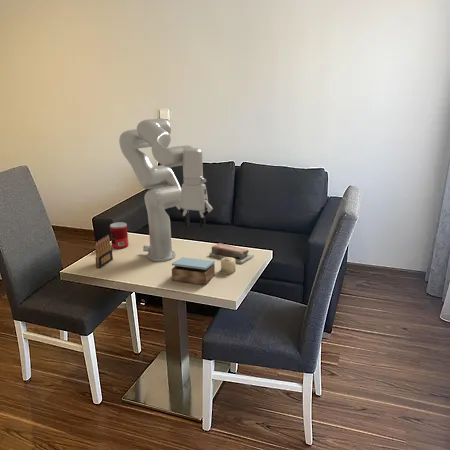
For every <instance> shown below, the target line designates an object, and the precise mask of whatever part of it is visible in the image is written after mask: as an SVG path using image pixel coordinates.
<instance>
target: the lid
mask: <svg viewBox="0 0 450 450" xmlns="http://www.w3.org/2000/svg"><path fill="white" fill-rule="evenodd" d="M215 263H216V262H215V260H208V259H201V258H200V259H199V258H192V257H185V256H182V257H180V258H179V259H177V260H176V261H173V262H172V263H171V266H173V267H175V266H181V267H189V268H196V269H204V270H206V269H207V268H209V267H210V266H211V265H213V264H215Z"/></svg>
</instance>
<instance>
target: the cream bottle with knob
mask: <svg viewBox="0 0 450 450" xmlns="http://www.w3.org/2000/svg"><path fill="white" fill-rule="evenodd" d="M220 272H221V274H227V275H229V274H235V272H236V263H235V258H232V257H224V258H222V259H220Z"/></svg>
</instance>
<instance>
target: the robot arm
mask: <svg viewBox="0 0 450 450" xmlns="http://www.w3.org/2000/svg"><path fill="white" fill-rule="evenodd" d="M171 133H172V127H171V124H170V122H169V121H168V120H167V119H165V118H150V119H144V120H141V121H139V122H138V123H137V126H136V128H135V129H129V130H125V131H123V132H122V133H121V134H120V135H119V147H120V150H121V153H122V154H123V156H124V158H125V159H126V160H127V162H128V163H129V165H130V167H131V169H132V170H133V172H134V174H135V176H136V177H135V178H137V181H138V183H139V184H140V186H141V187H142V188H143V189H144V190H147V192H146V193H145V194H144V203H145V207H146V211H147V220H148V222H147V223H148V234H149V245H146V244H145V245H142V246H143V247H142V250H143V252H147V259H148V260H150V261H152V262H167V261H170V260H172V259H174V258H176V252H175V251H174V250H173V249H172V247H173V246H172V231H171V230H172V229H171V219H170V215H169V213H167V211H166V210H167V209H170V208H174V207H176V209H178V210H179V213H181V214H182V217H183V223H184V225H185V226H186V227H187V226H189V225H190V224H191V219H190V214H189V212H190V211H197V212H199V216H200V217H199V227H200V228H203V227H204V226H205V225H206V216H207V215H209V213H210V212H212V210H213V209H214V208H213V206H212V205H211V204H210V203H209V198H208V197H209V196H208V190H207V187H206V184H205V183H207V178H204V172H203V171H204V170H203V168H204V166H203V163H204V162H203V151H202V150H201V149H200V148H195V147H192V146H191V145H178V146H177V145H176V146H170V147H169V145H170V143H171V140H172V137H171ZM145 148H146V149H147V148H151V153H152V156H153V159H154V160H155V161H156V162H157V163H159V164H160V165H153V163H152V162H151V159H150V158H149V156H148V155H147V154H145V153H144V152H143V151H141V150H140V149H145ZM179 166H180V167H181V166H182V174H183V183H182V184H181V185H180V183H179V181H178V179H177V177H176V175H175V173H174V171H173V170H172V168H174V167H179ZM205 209H206V210H205Z"/></svg>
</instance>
